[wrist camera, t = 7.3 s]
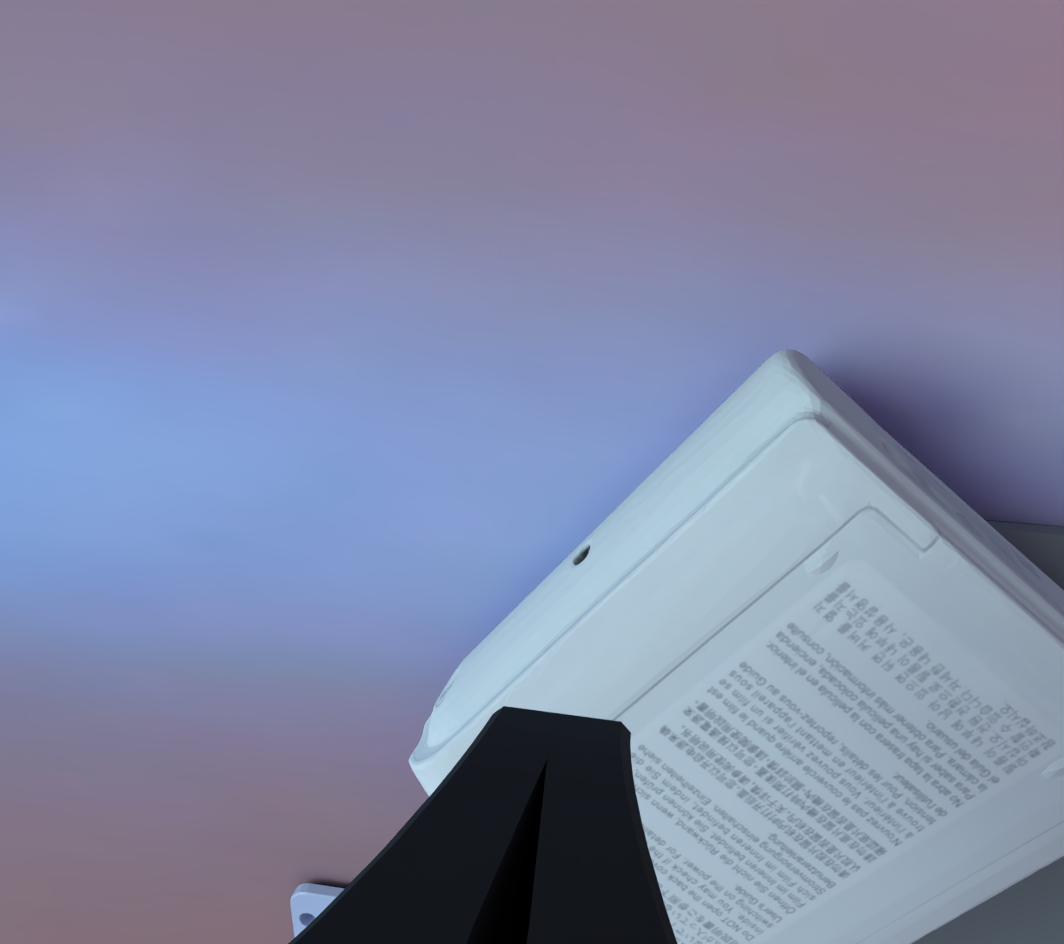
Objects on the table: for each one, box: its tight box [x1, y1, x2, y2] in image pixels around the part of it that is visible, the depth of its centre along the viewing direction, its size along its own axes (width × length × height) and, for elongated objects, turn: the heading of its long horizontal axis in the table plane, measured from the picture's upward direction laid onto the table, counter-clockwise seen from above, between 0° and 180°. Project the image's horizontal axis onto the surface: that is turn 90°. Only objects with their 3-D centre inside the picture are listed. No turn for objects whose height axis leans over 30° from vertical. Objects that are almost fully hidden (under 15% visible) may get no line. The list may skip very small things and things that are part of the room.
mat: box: [912, 521, 1064, 944], centre depth 20 cm, size 12×17×1 cm
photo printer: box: [409, 349, 1064, 944], centre depth 18 cm, size 10×4×12 cm
